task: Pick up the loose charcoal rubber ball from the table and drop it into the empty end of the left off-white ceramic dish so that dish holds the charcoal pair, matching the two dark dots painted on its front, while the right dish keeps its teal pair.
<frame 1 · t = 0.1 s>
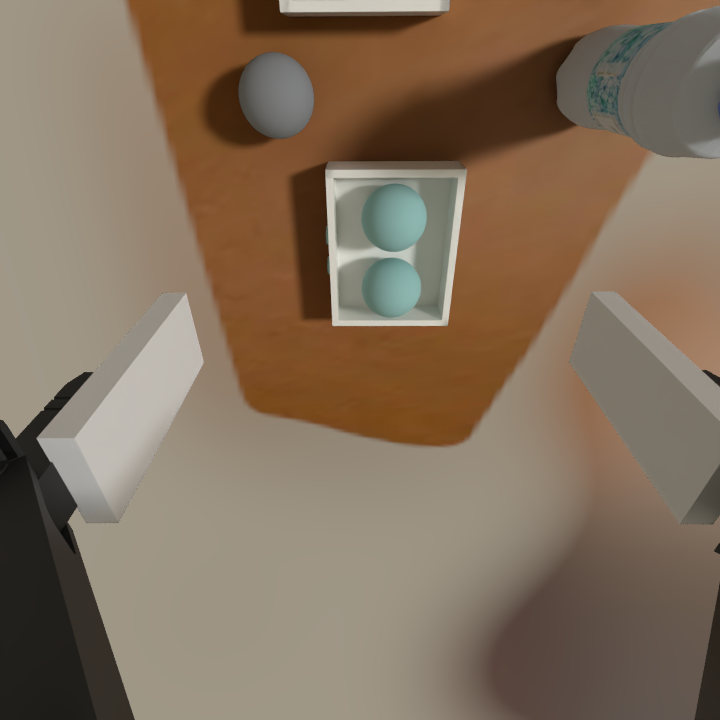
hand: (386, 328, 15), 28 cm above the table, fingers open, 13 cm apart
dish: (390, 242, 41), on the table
ball teal 1: (392, 209, 39), resting on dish
ball charcoal 2: (282, 94, 35), on the table
bottle: (588, 78, 34), on the table
ball teal 2: (389, 275, 43), resting on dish
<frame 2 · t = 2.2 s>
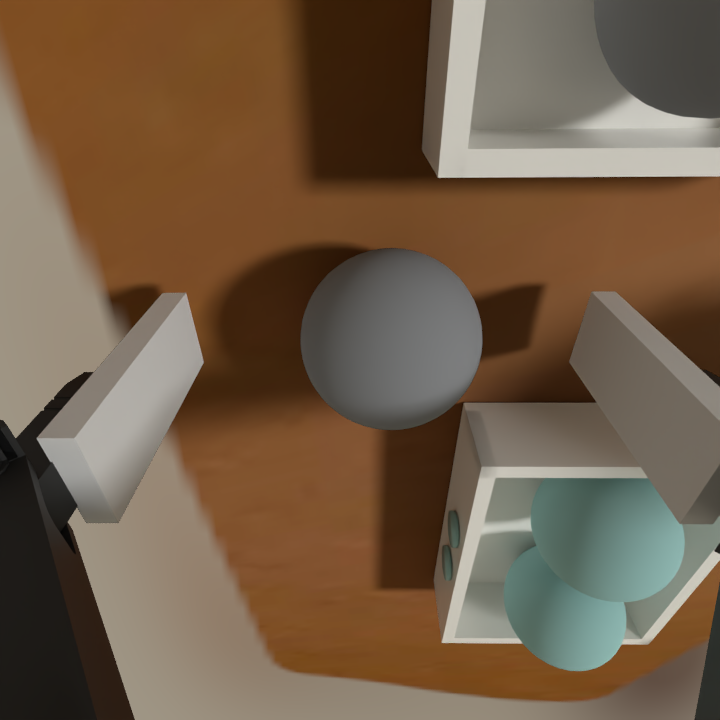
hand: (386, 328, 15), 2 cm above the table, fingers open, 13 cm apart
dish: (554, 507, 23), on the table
ball teal 1: (575, 473, 20), resting on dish
ball charcoal 2: (386, 298, 16), on the table
ball teal 2: (543, 551, 24), resting on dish
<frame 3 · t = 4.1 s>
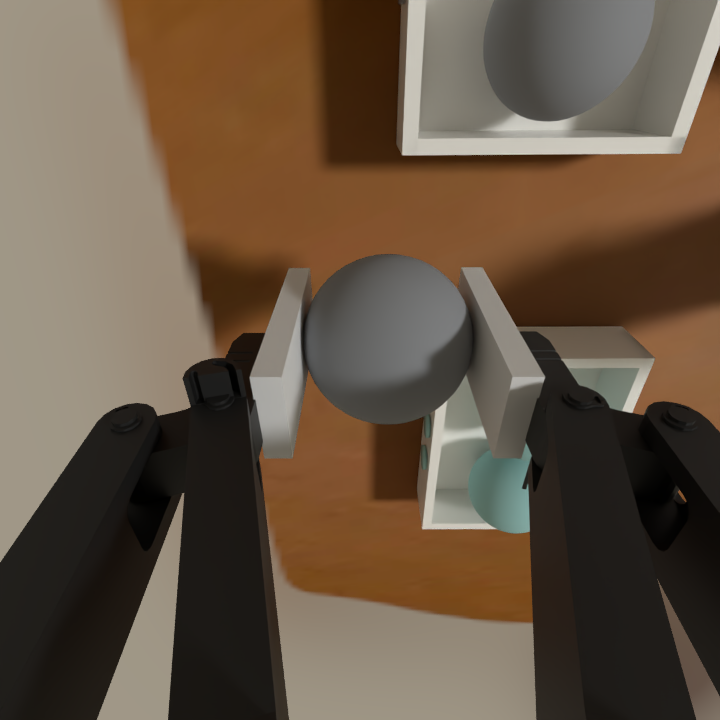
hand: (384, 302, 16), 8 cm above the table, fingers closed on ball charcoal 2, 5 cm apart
ball charcoal 1: (536, 39, 18), resting on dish
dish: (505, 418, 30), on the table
ball charcoal 2: (383, 302, 17), point 8 cm above the table, touching gripper
ball teal 2: (499, 457, 31), resting on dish
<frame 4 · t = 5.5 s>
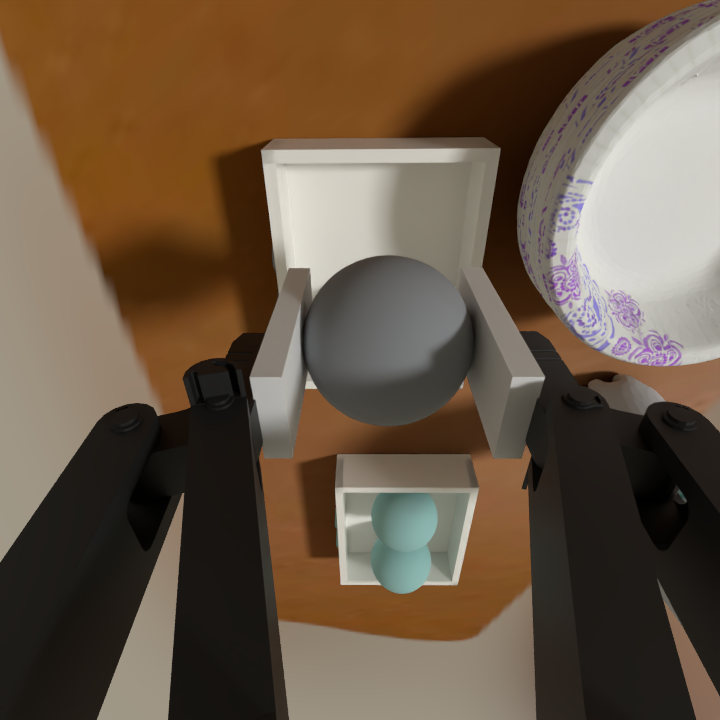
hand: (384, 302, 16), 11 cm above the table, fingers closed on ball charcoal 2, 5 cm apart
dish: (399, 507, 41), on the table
ball teal 1: (401, 489, 39), resting on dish
ball charcoal 2: (383, 303, 17), point 11 cm above the table, touching gripper
bottle: (602, 398, 34), on the table
ball teal 2: (398, 532, 42), resting on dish
paper bowls: (635, 176, 25), on the table
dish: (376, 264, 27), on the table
when the fingers open (4 cm above the table, at t = 6.8 s): ball charcoal 2 drops 3 cm, resting on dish.
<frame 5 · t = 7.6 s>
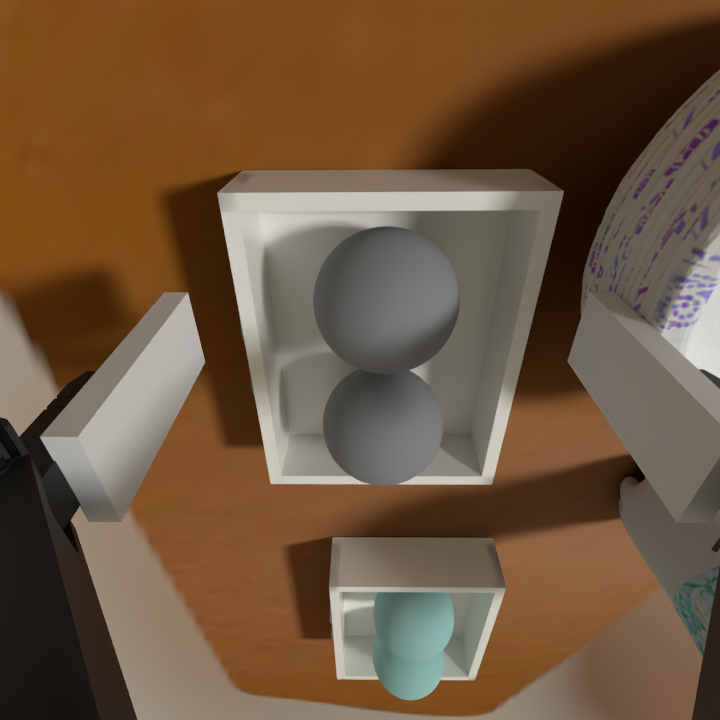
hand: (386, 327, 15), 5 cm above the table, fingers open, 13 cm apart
ball charcoal 1: (380, 386, 22), resting on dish
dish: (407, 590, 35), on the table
ball teal 1: (409, 574, 32), resting on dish
ball charcoal 2: (383, 273, 19), resting on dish
bottle: (659, 478, 27), on the table
ball teal 2: (405, 617, 36), resting on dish
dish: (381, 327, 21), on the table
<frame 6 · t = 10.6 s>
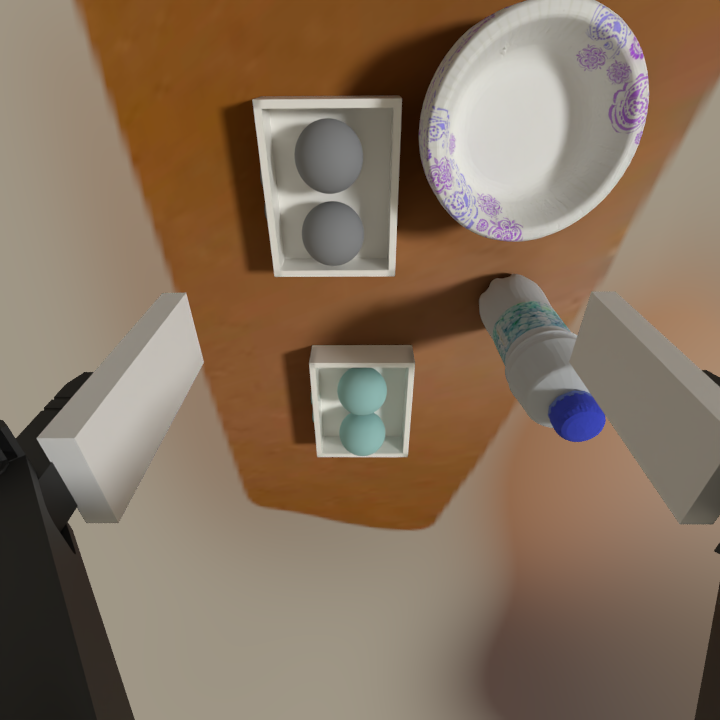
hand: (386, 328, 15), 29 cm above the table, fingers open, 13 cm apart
ball charcoal 1: (334, 224, 41), resting on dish
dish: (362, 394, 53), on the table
ball teal 1: (362, 375, 51), resting on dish
ball charcoal 2: (331, 152, 37), point 1 cm above the table, touching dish
bottle: (505, 296, 46), on the table
ball teal 2: (362, 417, 54), resting on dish
paper bowls: (504, 122, 37), on the table
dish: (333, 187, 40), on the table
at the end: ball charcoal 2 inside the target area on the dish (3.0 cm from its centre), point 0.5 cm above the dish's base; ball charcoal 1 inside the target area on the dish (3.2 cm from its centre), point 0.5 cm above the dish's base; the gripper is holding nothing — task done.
